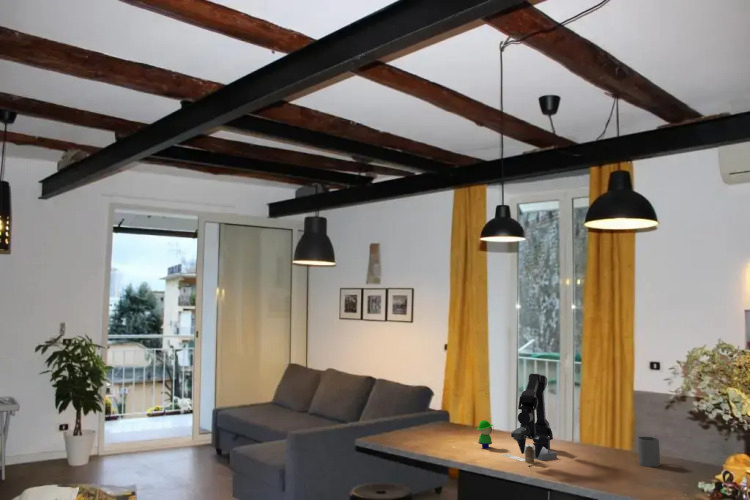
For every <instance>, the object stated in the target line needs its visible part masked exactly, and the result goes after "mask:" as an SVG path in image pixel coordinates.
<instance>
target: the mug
mask: <svg viewBox="0 0 750 500" xmlns="http://www.w3.org/2000/svg"><path fill="white" fill-rule="evenodd" d="M659 440H660V439H659V438H657V437H653V436H638V437H637V452H638V455H637V456H638V465H640V466H643V467H647V468H658V467H660V465H661V456H660V455H661V454H660V441H659Z"/></svg>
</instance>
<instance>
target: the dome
mask: <svg viewBox="0 0 750 500" xmlns="http://www.w3.org/2000/svg"><path fill="white" fill-rule="evenodd" d="M540 453H541V454H543V453H548V450H547V449H546V448H545V447H543V448H542V450H541V452H540Z"/></svg>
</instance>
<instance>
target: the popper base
mask: <svg viewBox="0 0 750 500" xmlns="http://www.w3.org/2000/svg"><path fill="white" fill-rule="evenodd" d="M533 451H534V460H537V461H541V462H542V461H548V460H554V459H555V460H556V459H558V456H557V455H558V452H557V451H553V450H550V449H549V450H548V453H543V454H541V453H540V454H539V456H538V458H536V456H535V449H534V450H533Z"/></svg>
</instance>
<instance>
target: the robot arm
mask: <svg viewBox="0 0 750 500" xmlns="http://www.w3.org/2000/svg"><path fill="white" fill-rule="evenodd" d="M547 385H548V377H547V376H546V375H543V374H540V373H529V375H528V383H527V386H526V389H525V390H523V391H522V392H521V394H520V396H519V398H518V399H519V400H518V407H517V409H518V410H520V413H518V415H517V421H518V423H519V425H520V427H518V428H516V429H515V430H512V432H511V433H510V435H511V436H510V437H511V438H512V439H513V440H514V441H516V442H517V445H518V447H519V450H520V453H521V454H522V455H523V454H525V453H524V450H525V445H526V444H527V443H526V441H527V439H529V440H532V445H534V450H535V456H536V458H538V456H539V454H540V452H541V450H542V448H543V447H545V448H546V449H547V450H549V451H550V449H551V445H550V444H551V440H552V441H553V439H554V436H553V431H552V428H551V425H550V423H549V421H548V419H547V418H546V407H545V405H546V404H545V403H546V402H545V392H544V391H546V390H545V389H546V388H547Z"/></svg>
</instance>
